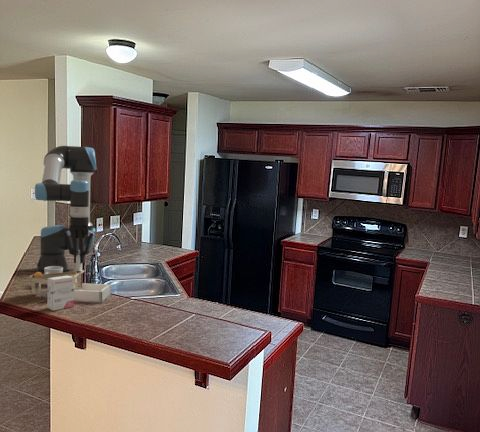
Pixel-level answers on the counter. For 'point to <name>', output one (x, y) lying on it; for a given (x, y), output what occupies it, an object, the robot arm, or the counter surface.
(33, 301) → the counter surface
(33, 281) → the lever
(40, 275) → the ball
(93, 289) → the dish
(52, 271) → the cup
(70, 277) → the ink box
